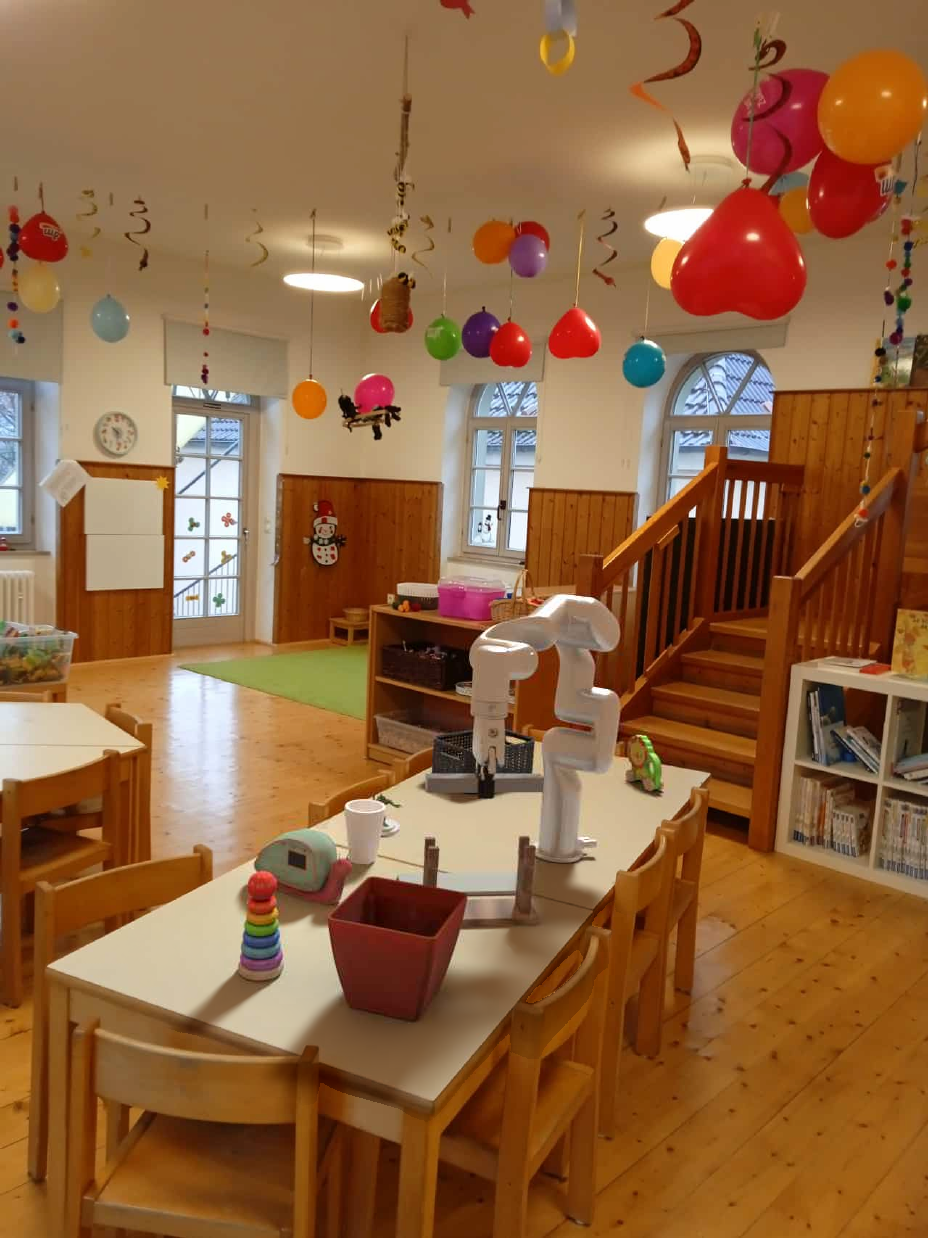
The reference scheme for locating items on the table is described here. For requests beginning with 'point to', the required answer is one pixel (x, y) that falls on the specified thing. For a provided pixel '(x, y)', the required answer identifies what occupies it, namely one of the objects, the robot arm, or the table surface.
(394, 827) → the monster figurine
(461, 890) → the mat
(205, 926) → the table surface
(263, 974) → the stacking toy
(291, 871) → the toy snail
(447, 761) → the storage bin
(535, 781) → the rail
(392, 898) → the plant pot
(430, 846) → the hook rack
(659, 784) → the toy lion
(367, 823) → the foam cup
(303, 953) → the table surface
